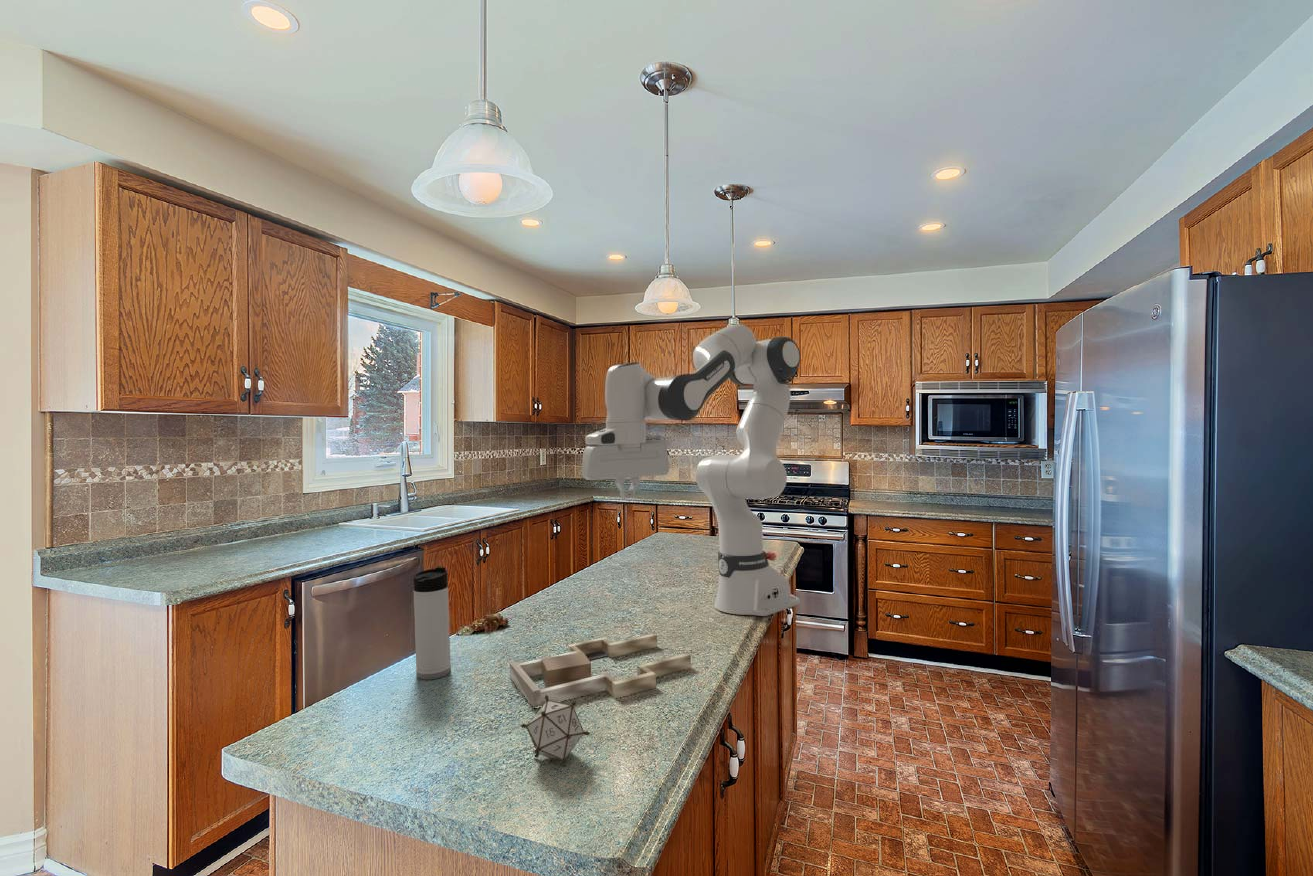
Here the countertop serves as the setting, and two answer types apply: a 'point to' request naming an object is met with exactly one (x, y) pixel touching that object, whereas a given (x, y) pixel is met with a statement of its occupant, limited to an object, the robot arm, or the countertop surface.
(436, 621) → the travel mug
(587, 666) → the walnut block
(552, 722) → the game die
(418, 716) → the countertop surface
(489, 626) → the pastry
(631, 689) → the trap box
